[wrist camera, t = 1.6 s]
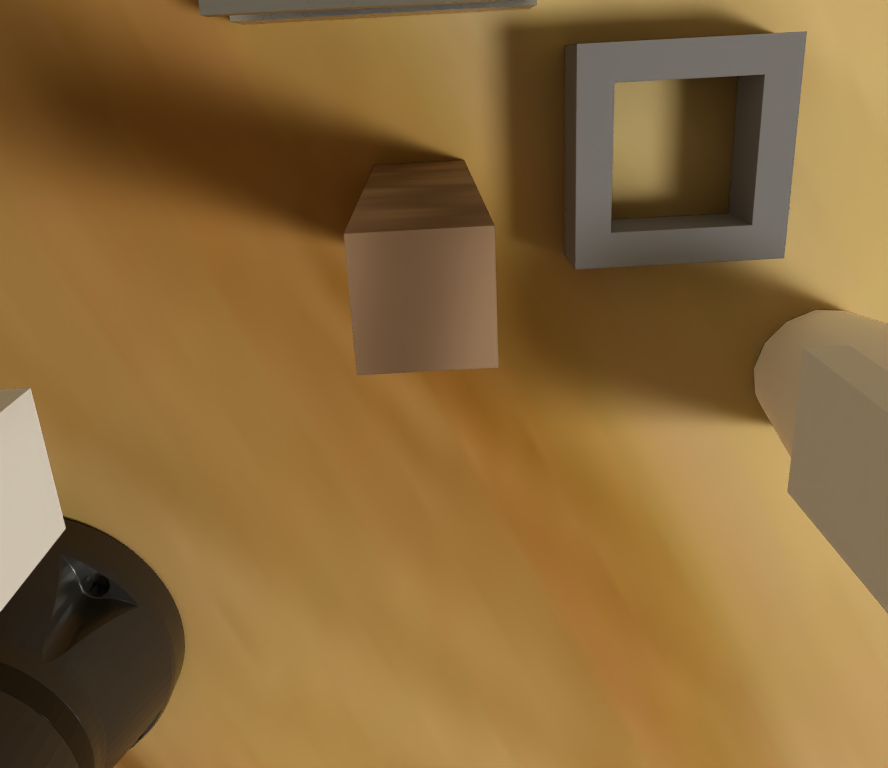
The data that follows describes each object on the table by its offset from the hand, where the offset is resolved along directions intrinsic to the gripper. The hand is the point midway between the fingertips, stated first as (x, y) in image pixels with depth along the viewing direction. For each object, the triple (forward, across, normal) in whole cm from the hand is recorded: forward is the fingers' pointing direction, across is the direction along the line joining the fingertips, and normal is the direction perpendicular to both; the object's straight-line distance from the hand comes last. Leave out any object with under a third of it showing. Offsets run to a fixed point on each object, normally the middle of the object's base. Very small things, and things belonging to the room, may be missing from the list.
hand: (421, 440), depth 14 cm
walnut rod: (+25, 0, 0) cm, 25 cm away
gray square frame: (+25, -11, -2) cm, 27 cm away
